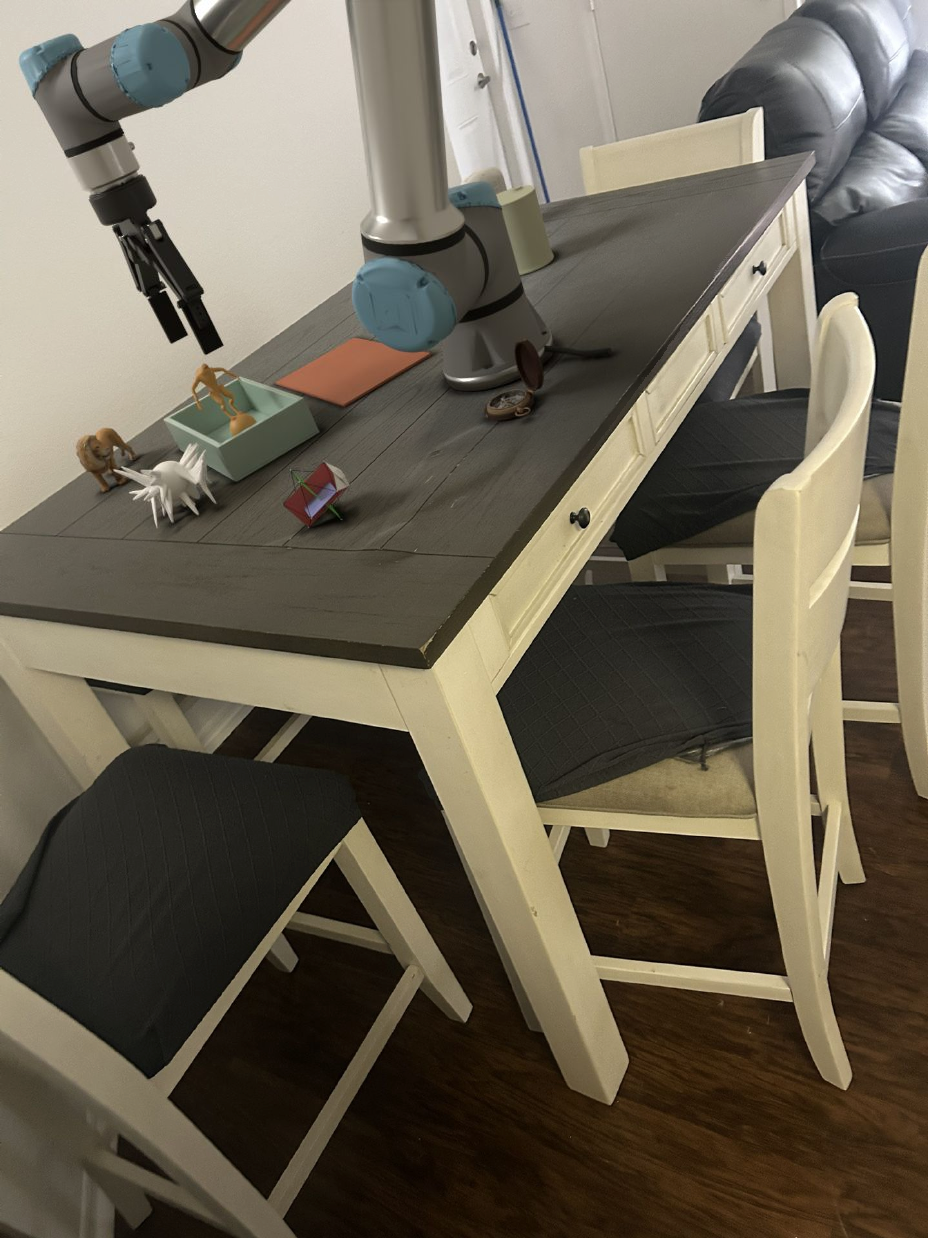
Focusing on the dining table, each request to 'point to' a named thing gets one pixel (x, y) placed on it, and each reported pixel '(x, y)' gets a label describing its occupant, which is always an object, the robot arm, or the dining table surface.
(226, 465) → the basin
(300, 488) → the geometric puzzle
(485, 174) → the white curved piece
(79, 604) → the dining table surface
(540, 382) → the compass
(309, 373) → the mat
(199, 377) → the figurine
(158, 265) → the robot arm
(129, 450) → the lion figurine
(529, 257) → the can
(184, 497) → the spiky ball
